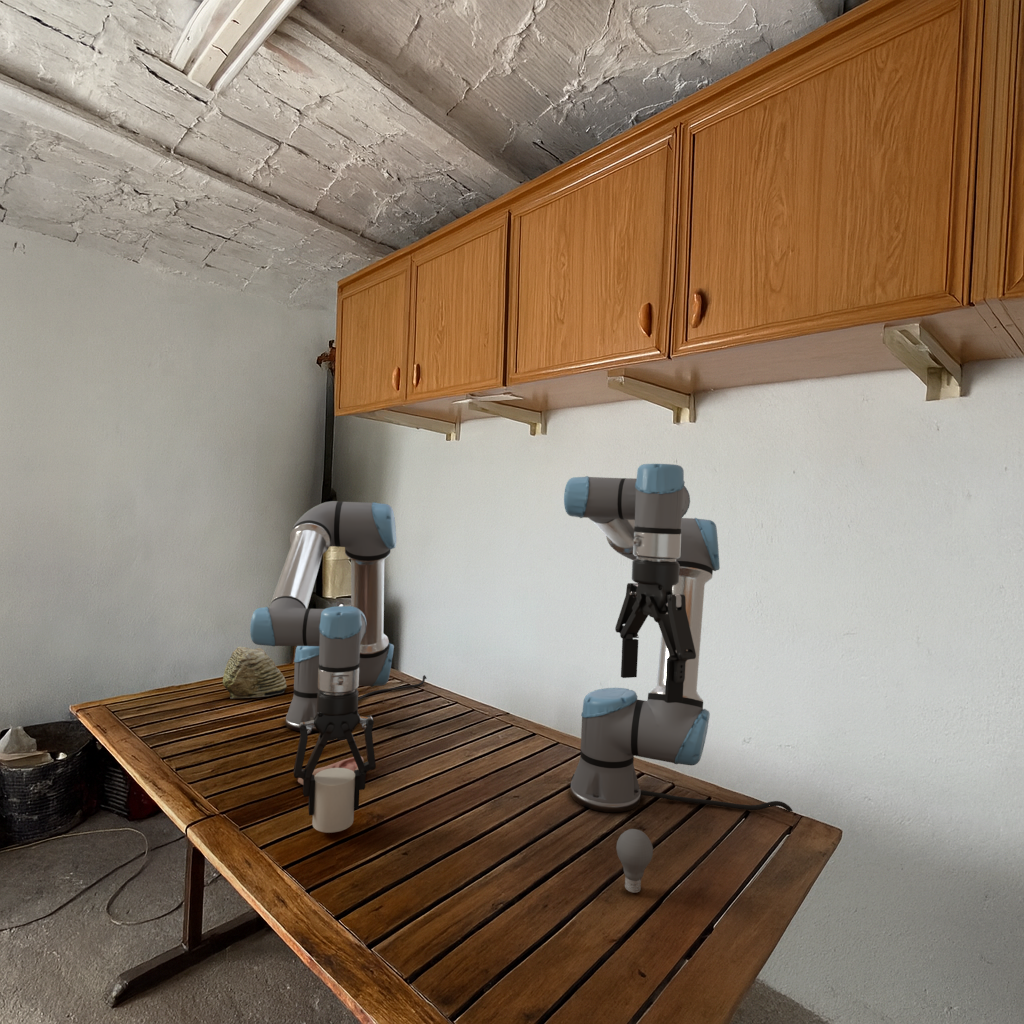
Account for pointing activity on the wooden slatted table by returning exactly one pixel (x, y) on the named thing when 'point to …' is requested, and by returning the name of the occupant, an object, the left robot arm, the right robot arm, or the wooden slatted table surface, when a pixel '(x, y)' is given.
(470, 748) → the wooden slatted table surface
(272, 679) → the fossil
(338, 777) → the can
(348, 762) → the anatomical model
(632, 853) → the light bulb
